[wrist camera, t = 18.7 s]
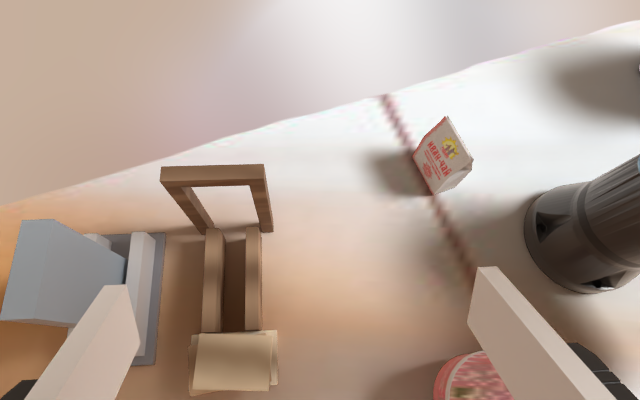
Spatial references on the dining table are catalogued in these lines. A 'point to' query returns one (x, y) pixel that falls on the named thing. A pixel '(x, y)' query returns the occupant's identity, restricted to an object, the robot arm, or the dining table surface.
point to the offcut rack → (215, 346)
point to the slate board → (57, 274)
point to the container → (470, 380)
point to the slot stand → (140, 283)
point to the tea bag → (443, 157)
